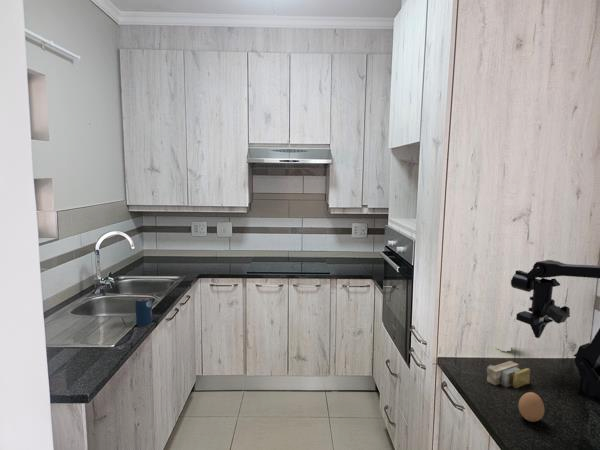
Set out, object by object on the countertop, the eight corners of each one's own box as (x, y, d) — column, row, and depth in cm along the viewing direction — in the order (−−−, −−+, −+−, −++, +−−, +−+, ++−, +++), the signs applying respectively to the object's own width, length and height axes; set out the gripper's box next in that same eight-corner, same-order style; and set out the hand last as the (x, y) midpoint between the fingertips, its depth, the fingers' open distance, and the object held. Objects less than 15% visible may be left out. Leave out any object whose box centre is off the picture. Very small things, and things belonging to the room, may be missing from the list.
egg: (520, 424, 114) (523, 397, 113) (515, 411, 120) (517, 385, 119) (546, 428, 112) (549, 401, 111) (539, 415, 119) (541, 389, 118)
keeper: (529, 383, 137) (530, 369, 136) (516, 388, 134) (517, 374, 133) (525, 381, 138) (527, 367, 137) (512, 386, 135) (513, 372, 134)
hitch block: (517, 377, 141) (518, 364, 140) (494, 385, 135) (495, 371, 135) (509, 373, 144) (510, 360, 143) (486, 381, 138) (488, 367, 137)
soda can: (155, 324, 184) (154, 298, 183) (141, 328, 179) (140, 302, 177) (147, 320, 188) (146, 295, 187) (133, 324, 183) (132, 298, 182)
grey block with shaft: (519, 382, 138) (520, 369, 137) (506, 387, 134) (507, 374, 134) (495, 370, 145) (496, 358, 145) (482, 375, 142) (483, 362, 142)
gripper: (550, 306, 131) (544, 352, 133) (581, 298, 140) (576, 341, 142) (517, 296, 141) (513, 339, 143) (548, 289, 150) (544, 330, 152)
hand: (537, 337), depth 145 cm, fingers closed
